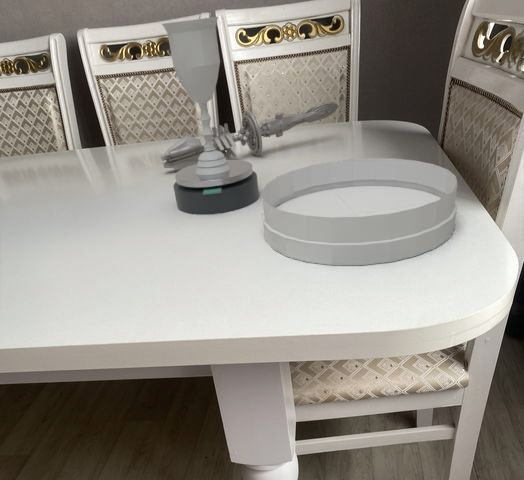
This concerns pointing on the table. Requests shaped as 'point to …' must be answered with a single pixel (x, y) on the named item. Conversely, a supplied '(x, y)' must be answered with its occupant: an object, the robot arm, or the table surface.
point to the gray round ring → (360, 211)
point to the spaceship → (242, 135)
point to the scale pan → (235, 174)
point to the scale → (217, 197)
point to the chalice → (198, 78)
